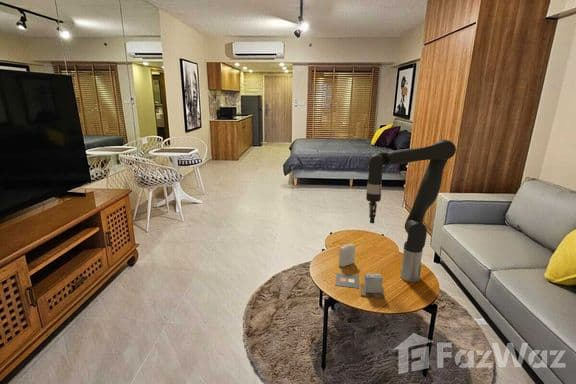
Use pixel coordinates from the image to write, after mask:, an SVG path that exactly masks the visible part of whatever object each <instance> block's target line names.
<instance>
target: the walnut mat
mask: <svg viewBox="0 0 576 384" xmlns="http://www.w3.org/2000/svg"><path fill="white" fill-rule="evenodd" d="M384 292H385V291H384V287H383V286H382V290H381V293H365V290H364V284H360V296H361V297H364V298H365V297H366V298H373V299H382V300H383V299H385V293H384Z"/></svg>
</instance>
